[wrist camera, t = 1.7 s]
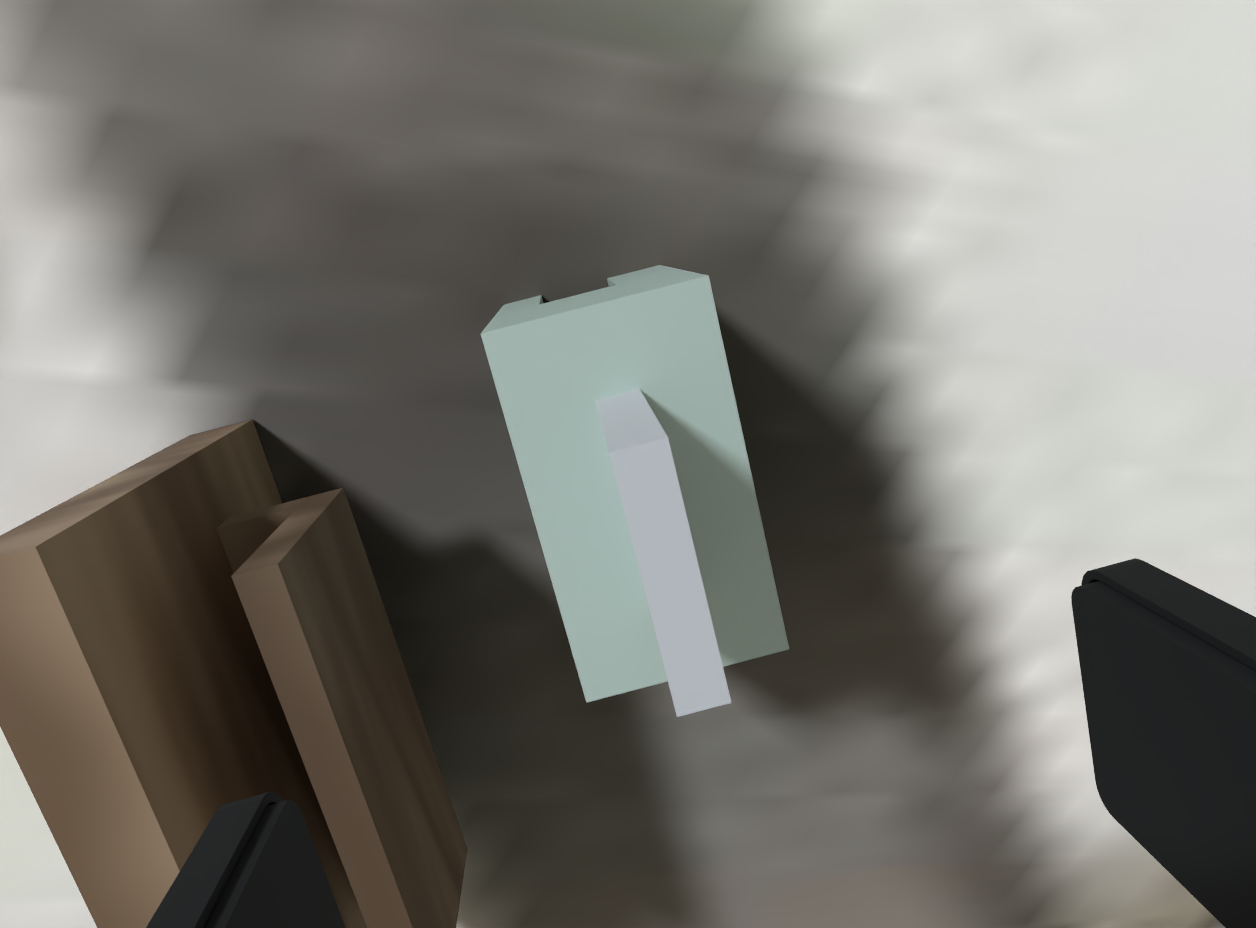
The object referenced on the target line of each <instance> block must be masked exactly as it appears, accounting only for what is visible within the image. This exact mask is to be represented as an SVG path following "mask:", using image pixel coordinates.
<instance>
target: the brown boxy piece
mask: <svg viewBox="0 0 1256 928" xmlns="http://www.w3.org/2000/svg"><path fill="white" fill-rule="evenodd" d="M0 727H1V729H2V731H3V733H4V735H5V737H6V739H7V741H8V743H9V745H10V747H11V750H12V752H13V754H14V756H15V758H16V760H17V762H18V764H19V766H20V768H21V770H22V772H23V774H24V776H25V779H26V781H27V783H28V785H29V787H30V789H31V791H32V793H33V795H34V797H35V799H36V801H37V803H38V805H39V808H40V810H41V812H42V814H43V816H44V818H45V820H46V822H47V824H48V826H49V828H50V830H51V832H52V834H53V837H54V839H55V841H56V843H57V845H58V847H59V849H60V851H61V853H62V855H63V857H64V859H65V861H66V864H67V866H68V868H69V870H70V872H71V874H72V876H73V878H74V880H75V882H76V884H77V886H78V888H79V890H80V893H81V895H82V897H83V899H84V901H85V903H86V905H87V907H88V909H89V911H90V913H91V915H92V917H93V919H94V922H95V924H96V926H97V928H146V927H147V925H148V923H149V922H150V920H151V918H152V917H153V915H154V913H155V912H156V910H157V908H158V907H159V905H160V903H161V902H162V900H163V898H164V897H165V895H166V893H167V892H168V890H169V889H170V887H171V885H172V884H173V882H174V880H175V879H176V877H177V875H178V874H179V872H180V870H181V869H182V867H183V865H184V864H185V862H186V860H187V859H188V857H189V855H190V854H191V852H192V850H193V849H194V847H195V845H196V844H197V842H198V840H199V839H200V837H201V835H202V834H203V832H204V830H205V829H206V827H207V825H208V824H209V822H210V820H211V819H212V817H213V815H214V814H215V812H216V811H217V809H218V808H219V807H220V806H221V805H224V804H228V803H231V802H235V801H239V800H243V799H246V798H250V797H254V796H257V795H261V794H265V793H268V792H274V793H276V794H278V796H279V797H280V798H281V799H282V801H283V802H284V801H288V800H293V801H295V802H296V803H297V805H298V806H299V808H300V810H301V812H302V815H303V818H304V820H305V823H306V825H307V828H308V831H309V833H310V836H311V838H312V841H313V844H314V846H315V849H316V851H317V854H318V857H319V859H320V862H321V864H322V867H323V870H324V872H325V875H326V877H327V880H328V883H329V885H330V888H331V891H332V893H333V896H334V898H335V901H336V904H337V906H338V909H339V911H340V914H341V917H342V919H343V922H344V924H345V927H346V928H456V923H457V916H458V909H459V902H460V895H461V888H462V881H463V874H464V867H465V860H466V853H467V847H466V844H465V842H464V839H463V836H462V833H461V830H460V827H459V824H458V821H457V818H456V815H455V812H454V809H453V806H452V804H451V801H450V798H449V795H448V792H447V789H446V786H445V783H444V780H443V777H442V774H441V771H440V769H439V766H438V763H437V760H436V757H435V754H434V751H433V748H432V745H431V742H430V739H429V736H428V733H427V731H426V728H425V725H424V722H423V719H422V716H421V713H420V710H419V707H418V704H417V701H416V698H415V695H414V693H413V690H412V687H411V684H410V681H409V678H408V675H407V672H406V669H405V666H404V663H403V660H402V657H401V655H400V652H399V649H398V646H397V643H396V640H395V637H394V634H393V631H392V628H391V625H390V622H389V620H388V617H387V614H386V611H385V608H384V605H383V602H382V599H381V596H380V593H379V590H378V587H377V584H376V582H375V579H374V576H373V573H372V570H371V567H370V564H369V561H368V558H367V555H366V552H365V549H364V546H363V544H362V541H361V538H360V535H359V532H358V529H357V526H356V523H355V520H354V517H353V514H352V511H351V508H350V506H349V503H348V500H347V497H346V494H345V491H344V488H340V489H336V490H332V491H328V492H324V493H321V494H317V495H313V496H309V497H305V498H301V499H297V500H293V501H289V502H286V503H283V502H282V500H281V497H280V494H279V491H278V489H277V486H276V483H275V480H274V478H273V475H272V472H271V469H270V467H269V464H268V461H267V458H266V455H265V453H264V450H263V447H262V444H261V442H260V439H259V436H258V433H257V431H256V428H255V425H254V422H253V420H248V421H244V422H240V423H236V424H233V425H229V426H225V427H221V428H217V429H213V430H209V431H205V432H201V433H197V434H193V435H190V436H188V437H186V438H184V439H182V440H180V441H178V442H176V443H175V444H173V445H171V446H169V447H167V448H165V449H163V450H161V451H159V452H158V453H156V454H154V455H152V456H150V457H148V458H146V459H144V460H142V461H141V462H139V463H137V464H135V465H133V466H131V467H129V468H127V469H125V470H124V471H122V472H120V473H118V474H116V475H114V476H112V477H110V478H109V479H107V480H105V481H103V482H101V483H99V484H97V485H95V486H93V487H92V488H90V489H88V490H86V491H84V492H82V493H80V494H78V495H76V496H75V497H73V498H71V499H69V500H67V501H65V502H63V503H61V504H59V505H58V506H56V507H54V508H52V509H50V510H48V511H46V512H44V513H42V514H41V515H39V516H37V517H35V518H33V519H31V520H29V521H27V522H25V523H24V524H22V525H20V526H18V527H16V528H14V529H12V530H10V531H9V532H7V533H5V534H3V535H1V536H0Z"/></svg>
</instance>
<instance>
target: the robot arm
mask: <svg viewBox="0 0 1256 928" xmlns="http://www.w3.org/2000/svg"><path fill="white" fill-rule="evenodd" d="M1072 608H1073V616H1074V623H1075V631H1076V638H1077V646H1078V653H1079V661H1080V668H1081V676H1082V683H1083V691H1084V698H1085V705H1086V713H1087V720H1088V728H1089V735H1090V743H1091V750H1092V758H1093V765H1094V773H1095V780H1096V785H1097V789H1098V792H1099V795H1100V797H1101V799H1102V801H1103V803H1104V805H1105V807H1106V808H1107V810H1108V811H1109V813H1110V814H1111V815H1112V816H1113V818H1114V819H1115V820H1116V821H1117V822H1118V823H1119V824H1121V825H1122V826H1123V827H1124V828H1125V829H1126V830H1127V831H1128V832H1129V833H1130V834H1131V835H1132V836H1133V837H1134V838H1135V839H1136V840H1137V841H1138V842H1139V843H1140V844H1141V845H1142V846H1143V847H1144V848H1145V849H1146V850H1147V851H1148V852H1149V853H1150V854H1151V855H1152V856H1153V857H1154V858H1155V859H1156V860H1157V861H1158V862H1159V863H1160V864H1161V865H1162V866H1163V867H1164V868H1165V869H1166V870H1167V871H1168V872H1169V873H1170V874H1171V875H1173V876H1174V877H1175V878H1176V879H1177V880H1178V881H1179V882H1180V883H1181V884H1182V885H1183V886H1184V887H1185V888H1186V889H1187V890H1188V891H1189V892H1190V893H1191V894H1192V895H1193V896H1194V897H1195V898H1196V899H1197V900H1198V901H1199V902H1200V903H1201V904H1202V905H1203V906H1204V907H1205V908H1206V909H1207V910H1208V911H1209V912H1210V913H1211V914H1212V915H1213V916H1214V917H1215V918H1216V919H1217V920H1218V921H1219V922H1220V923H1221V924H1222V925H1223V926H1225V927H1226V928H1256V617H1254V616H1252V615H1250V614H1248V613H1246V612H1244V611H1242V610H1240V609H1238V608H1236V607H1234V606H1232V605H1230V604H1228V603H1226V602H1224V601H1222V600H1220V599H1218V598H1216V597H1214V596H1212V595H1210V594H1208V593H1206V592H1204V591H1202V590H1200V589H1198V588H1196V587H1194V586H1192V585H1190V584H1188V583H1186V582H1184V581H1182V580H1180V579H1178V578H1176V577H1174V576H1172V575H1170V574H1168V573H1166V572H1164V571H1162V570H1160V569H1158V568H1156V567H1154V566H1152V565H1150V564H1148V563H1146V562H1144V561H1142V560H1139V559H1132V560H1128V561H1124V562H1120V563H1117V564H1113V565H1109V566H1105V567H1102V568H1098V569H1094V570H1091V571H1087V572H1086V573H1085V575H1084V576H1083V580H1082V586H1079V587H1075V589H1074V590H1073V592H1072ZM146 928H346V927H345V924H344V922H343V919H342V917H341V914H340V911H339V909H338V906H337V904H336V901H335V898H334V896H333V893H332V891H331V888H330V885H329V883H328V880H327V877H326V875H325V872H324V870H323V867H322V864H321V862H320V859H319V857H318V854H317V851H316V849H315V846H314V844H313V841H312V838H311V836H310V833H309V831H308V828H307V825H306V823H305V820H304V818H303V815H302V812H301V810H300V808H299V806H298V805H297V803H296V802H295V801H293V800H288V801H284V802H283V801H282V799H281V798H280V797H279V796H278V794H276V793H274V792H268V793H265V794H261V795H257V796H254V797H250V798H246V799H243V800H239V801H235V802H231V803H228V804H224V805H221V806H220V807H219V808H218V809H217V811H216V812H215V814H214V815H213V817H212V819H211V820H210V822H209V824H208V825H207V827H206V829H205V830H204V832H203V834H202V835H201V837H200V839H199V840H198V842H197V844H196V845H195V847H194V849H193V850H192V852H191V854H190V855H189V857H188V859H187V860H186V862H185V864H184V865H183V867H182V869H181V870H180V872H179V874H178V875H177V877H176V879H175V880H174V882H173V884H172V885H171V887H170V889H169V890H168V892H167V893H166V895H165V897H164V898H163V900H162V902H161V903H160V905H159V907H158V908H157V910H156V912H155V913H154V915H153V917H152V918H151V920H150V922H149V923H148V925H147V927H146Z"/></svg>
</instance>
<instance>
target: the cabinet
mask: <svg viewBox="0 0 1256 928" xmlns="http://www.w3.org/2000/svg"><path fill="white" fill-rule="evenodd" d="M607 281H608V285H609V287H606V288H603V289H599V290H595V291H591V292H587V293H583V294H579V295H575V296H571V297H567V298H563V299H559V300H555V301H551V302H547V303H543V299H542V296H541V295H540V296H536V297H533V298H529V299H525V300H521V301H517V302H513V303H509V304H505V305H503V306H502V308H501V309H500V310H499V311H498V313H497V314H496V315H495V316H494V318H493V319H492V320H491V321H490V323H489V324H488V325H487V326H486V328H485V329H484V330H483V331H482V333H481V337H482V340H483V344H484V347H485V351H486V354H487V358H488V361H489V365H490V368H491V372H492V375H493V378H494V382H495V385H496V389H497V392H498V396H499V399H500V403H501V406H502V410H503V413H504V417H505V420H506V424H507V427H508V431H509V434H510V438H511V441H512V445H513V448H514V452H515V455H516V459H517V462H518V466H519V469H520V473H521V476H522V480H523V483H524V487H525V490H526V494H527V497H528V501H529V504H530V508H531V511H532V515H533V518H534V521H535V525H536V528H537V532H538V535H539V539H540V542H541V546H542V549H543V553H544V556H545V560H546V563H547V567H548V570H549V574H550V577H551V581H552V584H553V588H554V591H555V595H556V598H557V602H558V605H559V609H560V612H561V616H562V619H563V623H564V626H565V630H566V633H567V637H568V640H569V644H570V647H571V651H572V654H573V658H574V661H575V664H576V668H577V671H578V675H579V678H580V682H581V685H582V689H583V692H584V696H585V699H586V703H587V702H591V701H595V700H599V699H602V698H606V697H610V696H614V695H618V694H621V693H625V692H629V691H633V690H637V689H640V688H644V687H648V686H652V685H656V684H659V683H663V682H667V681H668V684H669V687H670V691H671V695H672V699H673V703H674V707H675V711H676V714H677V717H679V716H683V715H687V714H690V713H694V712H698V711H702V710H705V709H709V708H713V707H717V706H721V705H724V704H728V703H731V699H730V695H729V690H728V686H727V682H726V678H725V674H724V670H723V667H724V666H728V665H732V664H735V663H739V662H743V661H747V660H751V659H754V658H758V657H762V656H766V655H770V654H773V653H777V652H781V651H785V650H789V645H788V641H787V636H786V631H785V627H784V622H783V618H782V613H781V608H780V604H779V599H778V594H777V590H776V585H775V581H774V576H773V571H772V567H771V562H770V557H769V553H768V548H767V544H766V539H765V534H764V530H763V525H762V521H761V516H760V511H759V507H758V502H757V497H756V493H755V488H754V484H753V479H752V474H751V470H750V465H749V460H748V456H747V451H746V447H745V442H744V437H743V433H742V428H741V423H740V419H739V414H738V410H737V405H736V400H735V396H734V391H733V387H732V382H731V377H730V373H729V368H728V363H727V359H726V354H725V350H724V345H723V340H722V336H721V331H720V326H719V322H718V317H717V313H716V308H715V303H714V299H713V294H712V289H711V285H710V280H709V276H708V275H704V274H699V273H694V272H690V271H685V270H680V269H676V268H671V267H666V266H662V265H658V266H654V267H650V268H647V269H643V270H639V271H635V272H631V273H627V274H623V275H619V276H615V277H611V278H607Z"/></svg>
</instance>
